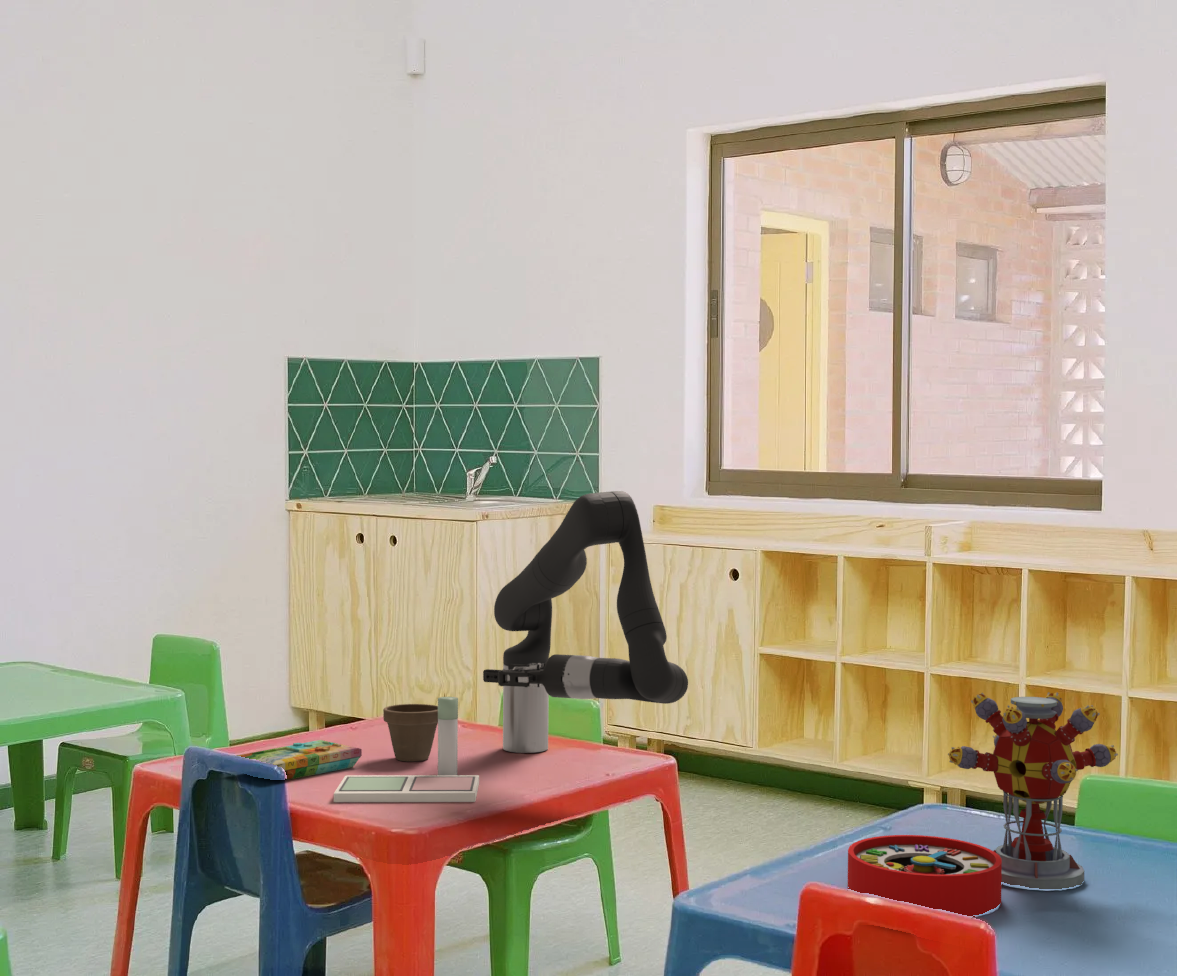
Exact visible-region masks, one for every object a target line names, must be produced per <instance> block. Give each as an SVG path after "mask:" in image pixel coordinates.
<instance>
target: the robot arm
mask: <svg viewBox="0 0 1177 976" xmlns="http://www.w3.org/2000/svg"><path fill="white" fill-rule="evenodd" d="M616 543H618V544H619V546H620V550H621V552H622V555H623V569H622V575H621V580H620V584H619V588H618V591H617V596H616V611H617V616H618V620H619V622H620V625H621V629H622V632H623V635H624V637H625V641H626V643H627V644H626V645H627V647H628V659H629V660H626V659H622V658H615V657H613V658H612V657H611V658H608V657H597V656H590V655H581V654H580V655H577V654H576V655H575V654H551V656H550V651H551V641H552V640H551V639H552V638H551V636H552V621H553V600H552V599H554V598H556V597H559V596H561V595H563V594H565V593H566V592H568V591H569V590H570V589H571V588H573V586H574V585H576V583H578V581H579V580H580V579H581V577H582V576H583V575H584V573H585V571H586V569H587V563H588V562H587V560H588V559H587V554H586V551H585V549H587V548H589V547H593V546H598V545H608V544H616ZM645 547H646V546H645V542H644V537H643V531H642V527H641V522H640V517H639V513H638V509H637V506H636V504H635V502H634V499H633V498H632V496H630V495H629V493H627V492H625V491H623V490H621V491H619V490H615V491H614V490H613V491H603V492H591V493H586V494H583V495H581V496H579V497H578V498H577V499H575V501H574V502H572V505H571V506H570V507H569V509H568V511H567V513H566V515H565V516H564V518H563V519H562V522H561V523H560V525H559V526H558V528H557V529H556V531H555V532H554V533H553V535H552V536H550V538H549V540H548V541H547V542H546V543H545V544H544V545H543V546H542V547H541V548H540V549H539V551H538V552H537V553H536V554H535V556H534V557H533V558H532V560H531V561H530V562H529V563H528V564H527V565H526V566H525V568H524V569H522V571H521V572H520V573H519V574H518V575H516V577H514V578H513V579H512V580H511V581H509V582H508V583H506V584H505V585H504V586H503V587H502V588H500V590H499V592H498V594H497V596H496V597H495V602H494V606H493V607H494V609H493V615H494V619H495V622H496V624H497V625H498V626H499V627H500V628H501V629H502V630H505V631H508V632H527V634H526V636H525V637H524V639H523V640H521V641H520V642H518V643H517V644H515V645H513V646H510V647H508V648H506V649H505V650H504V651H503V655H502V656H503V659H502V665H503V666H502V667H503V668H502V669H489V668H487V669H486V668H485V669H484V670H482V672H483V673H482V680H483V682H484V683H497V685H498V686H499V687H502V750H504V751H506V752H509V753H510V752H511V753H517V754H519V753H520V754H521V753H522V754H525V753H527V754H530V753H531V754H533V753H541V752H544V751H548V750H549V708H550V707H549V697H551V698H559V699H560V698H562V699H579V700H590V699H591V700H592V699H600V700H601V699H603V700H633V701H640V702H646V703H649V702H650V703H655V704H672V703H673V704H674V703H676V702H678V701H680V699H682V698H683V697H684V696H685V695H686V692H687V691H688V689H689V679H688V677H687V674H686V672H685V670H684V669H683V668H682V667H681V666H679V664H676V663H673V662H670V661H668V658H667V655H666V651H665V647H664V645H665V644H666V642H667V637H668V635H667V631H666V628H665V625H664V621H663V619H662V615H661V613H660V609H659V606H658V604H657V600H656V597H655V593H654V591H653V588H652V582H651V577H650V572H649V567H648V559H647V554H646V548H645Z"/></svg>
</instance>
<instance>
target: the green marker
mask: <svg viewBox="0 0 1177 976" xmlns="http://www.w3.org/2000/svg"><path fill="white" fill-rule="evenodd" d="M437 706H438V724H437V775H458V751H459V750H458V748H459V747H458V746H459V745H458V743H459V742H458V738H459V736H458V733H459V731H458V730H459V727H458V725H459V724H458V721H459V720H458V718H459V698H458V697H457V696H441V697H438V698H437Z"/></svg>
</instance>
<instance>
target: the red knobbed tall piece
mask: <svg viewBox="0 0 1177 976" xmlns="http://www.w3.org/2000/svg"><path fill="white" fill-rule="evenodd" d="M1062 700H1063V699H1062V698H1061V697H1060V695H1059V692H1055V693H1054V692H1049V691H1048V692H1047V695H1046V696H1045V697H1040V696H1015V697H1011V698H1010V704H1011V705H1013V706H1016V707H1013V706H1010V705H1009V704H1008V705H1007V708H1006V709H1005V711H1004V713H1003V715H1002V714H1001V713H1002V710H1000V709H999V705H998V704H997V702H996V701H995V700H994V699H992V698H990V697H989V696H986V695H985V694H984V693H983V692H981V693H979V694H976V695H975V696H974V697H973V699H971V700H970V703H972V705H973V708H974V710H975V714H976V715H977V717H978V718H980V719H982V720H985V721H984V722H985V723H986V724H988V723H989V725H990V726H991V727H992V728H993V730H992V731H993V733H994V734H995V735H992V738H993V743H994V750H993V751H992V753H991V752H984V753H982V752H980V751H979V750H978V749H974V748H973V747H970V746H963V745H962V746H961V747H960V746H957V747H953V746H951V749H950V751H949V753H948V754H947V755H948V758H949V763H952V764H954V765H955V766H957V767H959V769H960V768H961V769H965V770H969V769H973V770H976V769H977V768H978V769H981V770H982V771H983V772H990V773H991V772H993V775H994V778H995V781H996V784H997V787H998V788H999V790H1001V791H1002V793H1003V800H1002V801H1003V802H1002V803H1003V812H1004V818H1005V823H1004V824H1003V828H1004V829H1005V833H1004V839H1003V844H1002V845H999V846H997V847H996V848H995V849H994V850H993V851H994V852H996V853H997V854H998V855H999V856H1000V857H1001V859H1002V880H1001V882H1004V883H1007V884H1010V885H1020V886H1025V887H1029V888H1039V889H1062V888H1069V887H1074V886H1076V885H1081V884H1082V882H1083V881H1084V882H1085V869H1084V866H1082V865H1080V864H1079V863H1077V862H1076V860H1075V859H1074V858H1073V855H1072V854H1069V853H1068V852H1067V851H1065V850H1064V849H1062V843H1061V837H1060V834H1061V833H1062V828H1061V822H1062V817H1063V811H1064V810H1063V809H1064V808H1063V806H1064V805H1063V803H1064V802H1063V798H1064V795H1065V794H1066V793H1067V791H1068V790H1069V788H1070V785H1071V783H1072V782H1073V780H1074V779H1075V778H1076V776H1077V772H1078V771H1081V770H1084V769H1085V768H1086V767H1091V768H1094V767H1097V768H1104V767H1107V766H1108V765H1109V764H1110V763H1112V762H1113V761H1114V760H1116V757H1117V756H1119V754H1118V753H1117V751H1116V749H1115V746H1114V745H1113V744H1111V745H1107V744H1103V743H1102V744H1101V743H1096V744H1093V745H1091V746H1090V747H1088V748H1085V750H1084V751H1079V750H1075V751H1073V748H1072V746H1071V745H1072V743H1074V742H1075V741H1076V737H1077V736H1078V735H1083V734H1084V733H1085V732H1088V731H1090V730H1092V728H1093V727H1094V725H1095V722H1096V721H1097V719H1098V716H1100V714H1101V713H1100V712H1098V710H1097V709H1096V707H1094V705H1093V704H1091V705H1088V704H1087V705H1085V706H1081V707H1079V708H1077V709H1075V710H1073V711H1072V714H1071V716H1070V718H1067V720H1066V722H1067V723H1066V724H1064V725H1061V726H1059V727H1058V728H1057V729H1056V722H1058V720H1059V718H1060V717H1061V716H1062V713H1063V711H1064V706H1063V701H1062ZM1027 719H1028V720H1027ZM1020 800H1021V801H1022V802H1024V803H1025V808H1022V809H1021V810H1020V812H1019V809H1020V808H1019V806H1020V805H1019V804H1020ZM1052 802H1053V803H1052ZM1043 804H1046V807H1045V811H1044V810H1043V809H1041V807H1040V805H1043ZM1052 806H1053V807H1052ZM1052 808H1053V810H1052V812H1053V820H1054V824H1052V823H1049V822H1047V820H1048V818H1049V814H1050V811H1051V809H1052ZM1012 809H1013V810H1012ZM1012 813H1013V815H1014V820H1013V821H1011V815H1012ZM1020 818H1022V819H1023V820H1020ZM1042 820H1043V821H1042ZM1021 823H1022V827H1021ZM1012 824H1016V826H1017V828H1018V831H1017V830H1013V829H1010V828H1011V827H1010V825H1012ZM1046 826H1050V827H1053V828H1055V832H1053V833H1052V832H1051V833H1048V830H1047V828H1046ZM1012 833H1014V834H1018V836H1016V837H1015V838H1013V840H1012V835H1011V834H1012ZM1052 836H1056V837H1055V841H1054V846H1053V844H1052V842H1051V840H1050V837H1052ZM1082 885H1083V884H1082Z"/></svg>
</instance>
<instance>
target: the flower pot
mask: <svg viewBox="0 0 1177 976" xmlns="http://www.w3.org/2000/svg"><path fill="white" fill-rule="evenodd" d="M382 715H383V718H382V719H383V721H384V722H385V723H386V724H387V727H388V731H389V736H390V741H391V745H392V751H393V753H394V757H395V759H396V761H397V760H398V761H400V762H410V763H412V762H423V761H426V760H428V759H429V758H430V754H431V751H432V748H433V743H434V738H435V734H436V730H437V728H438V705H434V704H428V703H427V704H425V703H404V704H402V703H401V704H392V705H389V706H385V707H384V708H383V714H382Z"/></svg>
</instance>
